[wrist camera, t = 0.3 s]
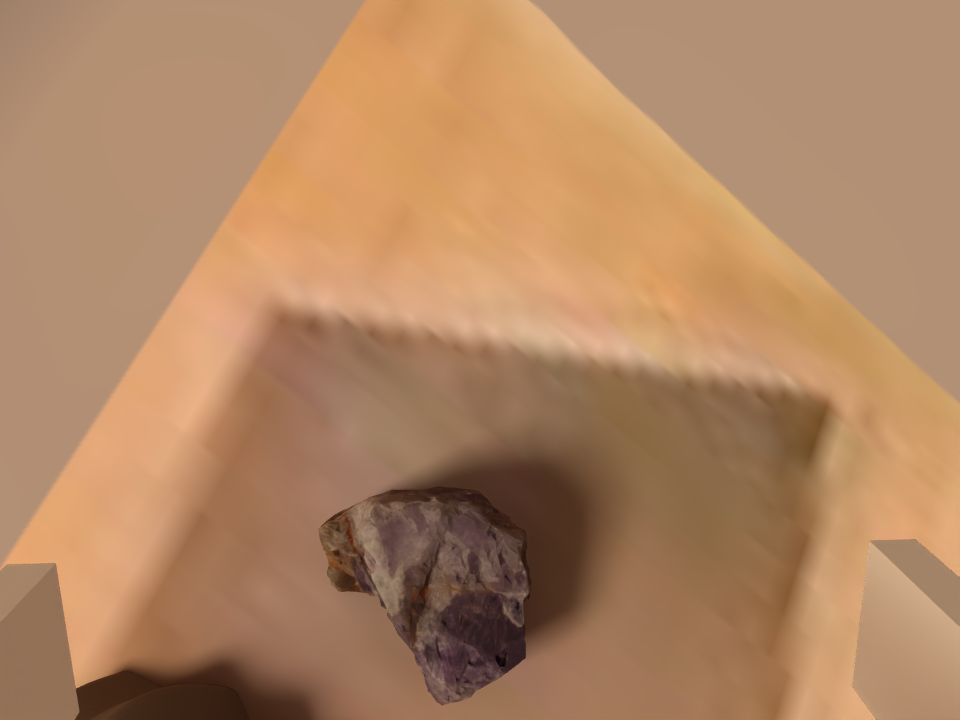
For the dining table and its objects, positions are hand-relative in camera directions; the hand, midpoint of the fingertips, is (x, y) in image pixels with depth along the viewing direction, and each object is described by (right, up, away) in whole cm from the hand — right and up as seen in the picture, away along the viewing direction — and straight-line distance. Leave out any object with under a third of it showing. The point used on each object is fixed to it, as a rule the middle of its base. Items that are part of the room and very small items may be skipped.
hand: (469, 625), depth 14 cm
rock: (-2, -8, +35) cm, 36 cm away
